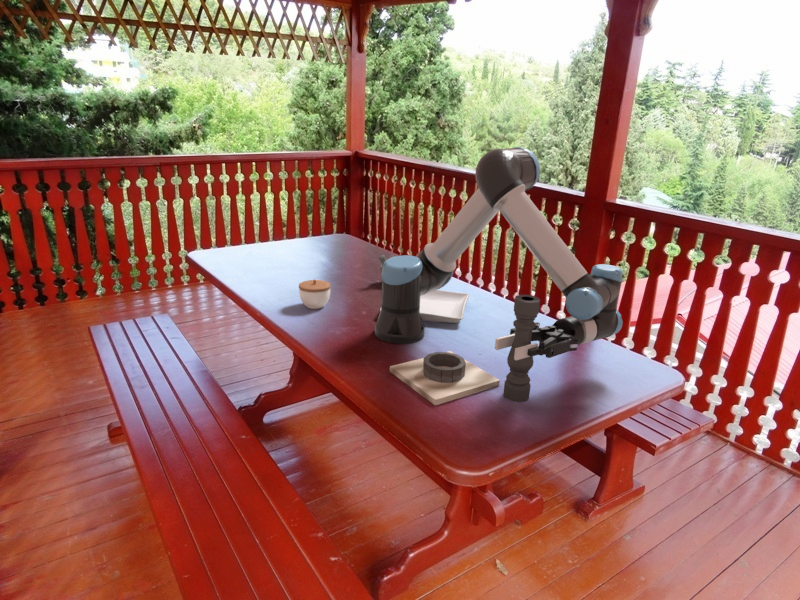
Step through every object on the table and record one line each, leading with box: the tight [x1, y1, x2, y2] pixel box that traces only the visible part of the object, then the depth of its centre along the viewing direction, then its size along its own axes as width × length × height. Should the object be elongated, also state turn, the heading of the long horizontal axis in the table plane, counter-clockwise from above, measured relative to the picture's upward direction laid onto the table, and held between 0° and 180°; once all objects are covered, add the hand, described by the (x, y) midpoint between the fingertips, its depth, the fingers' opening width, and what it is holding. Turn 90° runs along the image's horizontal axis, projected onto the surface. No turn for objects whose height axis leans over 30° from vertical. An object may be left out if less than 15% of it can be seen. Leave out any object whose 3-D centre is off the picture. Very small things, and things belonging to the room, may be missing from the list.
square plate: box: [379, 289, 470, 324], centre depth 187 cm, size 27×27×4 cm
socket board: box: [389, 350, 500, 407], centre depth 139 cm, size 20×20×5 cm
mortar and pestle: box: [378, 254, 387, 274], centre depth 213 cm, size 11×9×12 cm
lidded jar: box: [298, 279, 332, 310], centre depth 186 cm, size 11×11×9 cm
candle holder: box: [502, 294, 541, 403], centre depth 128 cm, size 6×6×25 cm
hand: (505, 349), depth 125 cm, fingers open, 6 cm apart
